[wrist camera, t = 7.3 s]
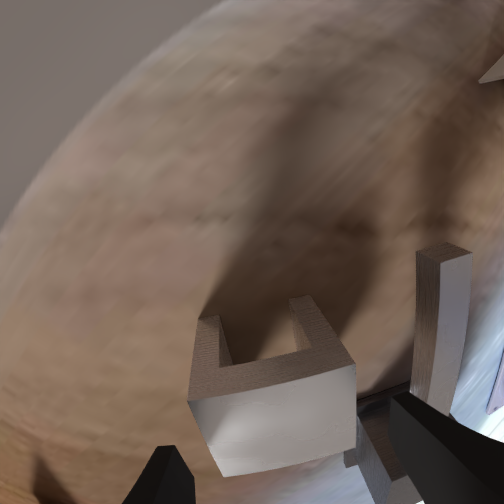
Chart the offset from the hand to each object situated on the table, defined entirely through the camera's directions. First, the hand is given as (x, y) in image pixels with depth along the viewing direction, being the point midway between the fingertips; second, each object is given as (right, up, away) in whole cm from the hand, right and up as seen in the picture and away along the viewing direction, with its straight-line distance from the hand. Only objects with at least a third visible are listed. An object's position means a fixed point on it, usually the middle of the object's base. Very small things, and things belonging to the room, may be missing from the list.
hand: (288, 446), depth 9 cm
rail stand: (+7, 0, +7) cm, 10 cm away
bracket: (-1, +2, +6) cm, 6 cm away
